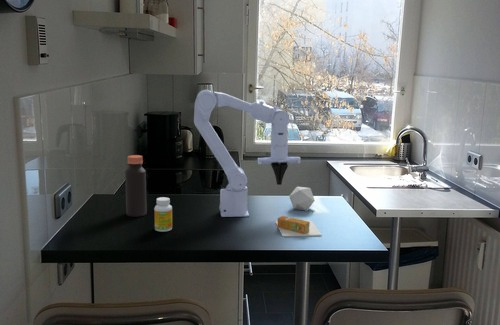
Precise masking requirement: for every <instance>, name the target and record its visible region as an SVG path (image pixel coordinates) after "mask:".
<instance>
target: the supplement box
mask: <svg viewBox="0 0 500 325" xmlns="http://www.w3.org/2000/svg"><path fill="white" fill-rule="evenodd" d="M277 221H278V226H277V228H278V229H279V228H282V229H286V230H290V231H294V232H298V233H302V234H305V233H307V232H309V225H310V222H309V221H305V220H304V219H300V218H294V217H290V216H286V215H282V216H279V217H277Z"/></svg>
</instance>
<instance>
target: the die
mask: <svg viewBox="0 0 500 325" xmlns="http://www.w3.org/2000/svg"><path fill="white" fill-rule="evenodd" d="M288 196H289V200H290V202H291V205H292V208H293V209H294V210H298V209H299V210H300V211H306V212H308V210H309V209H310V207H311V206H312V205H313V204H314V203H315V198H314V194H313V192H312V188H311V187H304V186H296V187H295V188H294V190H293V191H292V192H291V193H290V194H289V195H288Z"/></svg>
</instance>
